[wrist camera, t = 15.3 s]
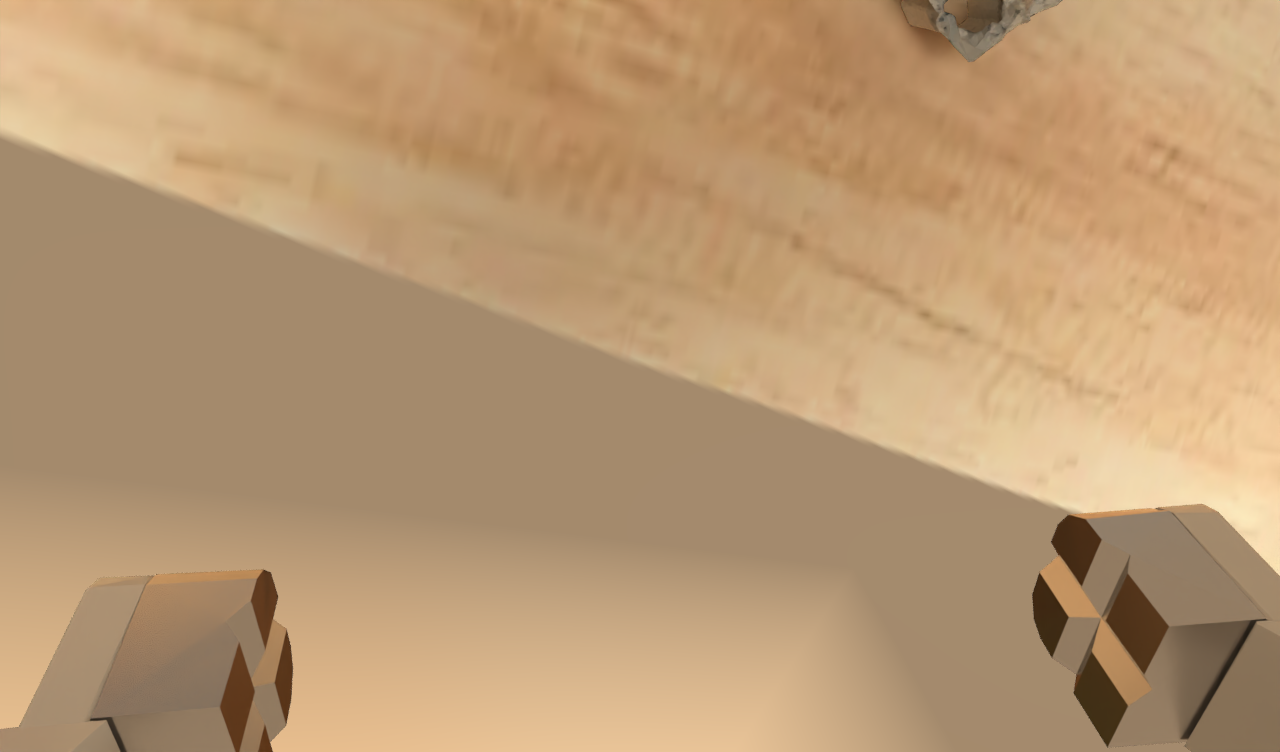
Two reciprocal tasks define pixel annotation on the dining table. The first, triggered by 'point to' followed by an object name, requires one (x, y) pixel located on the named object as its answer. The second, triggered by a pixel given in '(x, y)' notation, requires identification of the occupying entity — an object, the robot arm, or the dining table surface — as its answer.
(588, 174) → the dining table surface
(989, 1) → the egg carton
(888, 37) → the dining table surface
